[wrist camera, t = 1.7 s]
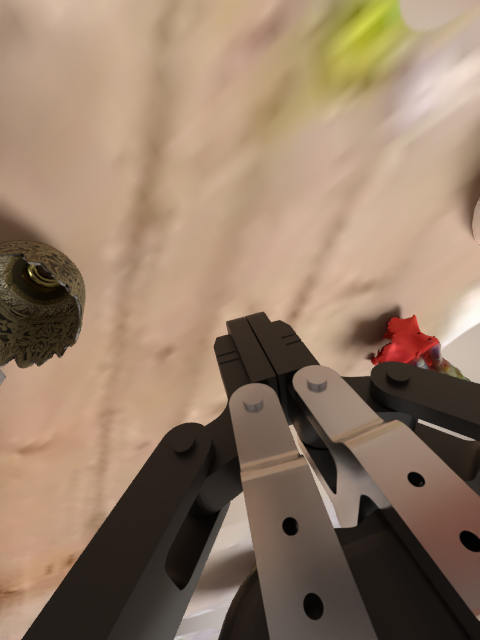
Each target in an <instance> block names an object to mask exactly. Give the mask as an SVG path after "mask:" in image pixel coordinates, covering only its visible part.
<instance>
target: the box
mask: <svg viewBox="0 0 480 640" xmlns="http://www.w3.org/2000/svg"><path fill="white" fill-rule="evenodd" d="M5 378H6V376H5V375H4V374H3V373H2V371H1V370H0V385H1V384H2V382H3V381H4V379H5Z"/></svg>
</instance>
